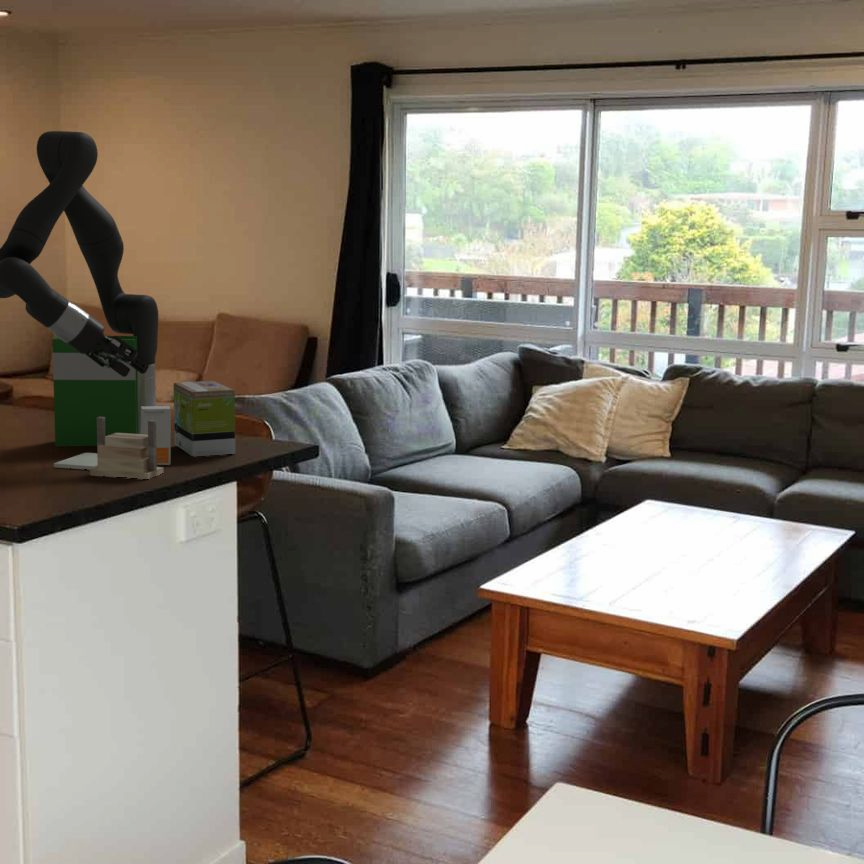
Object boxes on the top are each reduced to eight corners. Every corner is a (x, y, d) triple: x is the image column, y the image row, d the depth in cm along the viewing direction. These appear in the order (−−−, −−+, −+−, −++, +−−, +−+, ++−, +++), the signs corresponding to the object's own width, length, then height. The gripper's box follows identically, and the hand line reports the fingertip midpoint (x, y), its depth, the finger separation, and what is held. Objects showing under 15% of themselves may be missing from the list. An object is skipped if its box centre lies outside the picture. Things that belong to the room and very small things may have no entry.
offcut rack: (107, 469, 246) (106, 414, 244) (163, 473, 244) (163, 418, 242) (90, 475, 240) (88, 419, 238) (147, 479, 237) (147, 423, 235)
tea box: (172, 446, 274) (172, 381, 272) (215, 443, 279) (215, 379, 276) (191, 458, 261) (191, 389, 258) (236, 455, 265) (236, 388, 263)
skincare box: (141, 466, 250) (140, 408, 248) (140, 462, 254) (139, 405, 252) (171, 465, 252) (171, 408, 250) (170, 461, 256) (169, 405, 254)
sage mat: (85, 456, 259) (85, 452, 259) (124, 459, 257) (124, 455, 257) (53, 467, 247) (53, 463, 247) (94, 470, 245) (94, 466, 245)
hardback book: (138, 439, 280) (136, 336, 276) (136, 445, 273) (134, 339, 269) (59, 439, 277) (56, 335, 273) (55, 446, 270) (52, 339, 266)
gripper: (99, 308, 244) (161, 354, 253) (69, 316, 255) (129, 360, 264) (80, 338, 241) (144, 384, 250) (51, 344, 252) (112, 388, 261)
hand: (136, 371), depth 257 cm, fingers open, 8 cm apart
